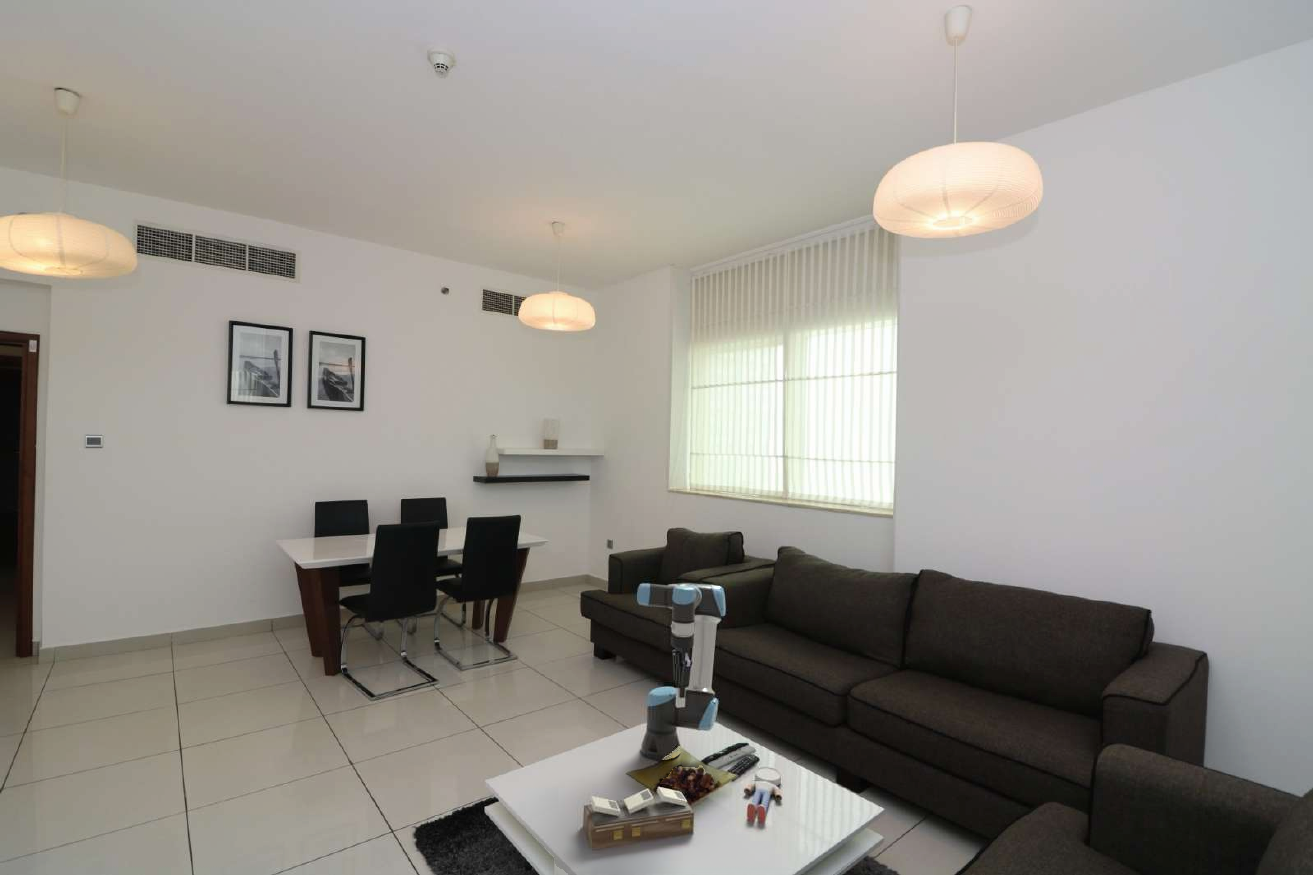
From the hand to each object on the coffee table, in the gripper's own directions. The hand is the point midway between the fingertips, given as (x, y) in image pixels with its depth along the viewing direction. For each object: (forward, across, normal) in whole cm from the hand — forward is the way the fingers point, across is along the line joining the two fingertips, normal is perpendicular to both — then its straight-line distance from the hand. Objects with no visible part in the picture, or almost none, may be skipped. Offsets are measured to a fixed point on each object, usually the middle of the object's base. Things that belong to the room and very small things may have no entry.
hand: (680, 706), depth 204 cm
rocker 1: (+22, +12, -28) cm, 37 cm away
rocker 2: (+22, +12, -6) cm, 26 cm away
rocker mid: (+22, +12, -17) cm, 30 cm away
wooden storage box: (+30, +12, -17) cm, 37 cm away
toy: (+31, +5, +29) cm, 43 cm away
